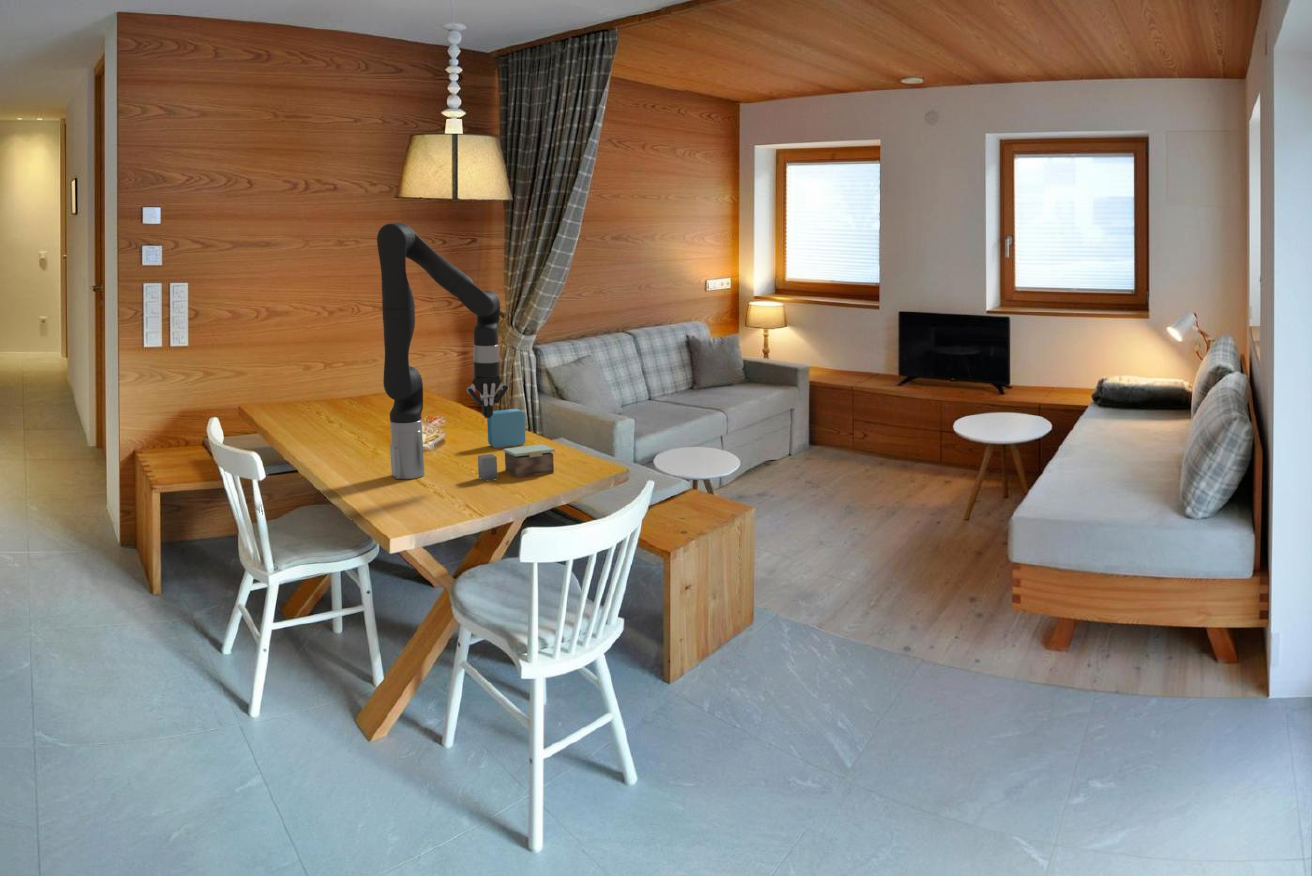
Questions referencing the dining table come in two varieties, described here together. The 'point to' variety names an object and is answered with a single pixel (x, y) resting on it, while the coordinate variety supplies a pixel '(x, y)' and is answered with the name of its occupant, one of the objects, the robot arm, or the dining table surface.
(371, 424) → the dining table surface
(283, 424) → the dining table surface
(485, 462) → the block
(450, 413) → the dining table surface
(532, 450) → the box lid
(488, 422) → the data package
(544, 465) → the walnut box
